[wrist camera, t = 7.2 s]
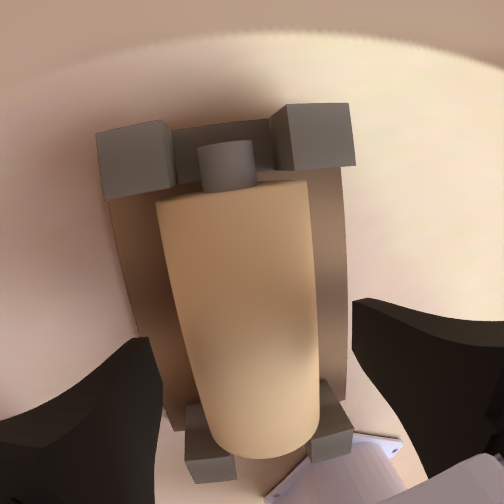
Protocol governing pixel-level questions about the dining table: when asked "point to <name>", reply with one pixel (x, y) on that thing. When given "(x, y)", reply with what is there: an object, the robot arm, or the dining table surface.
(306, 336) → the paper roll
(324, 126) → the roll holder
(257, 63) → the dining table surface
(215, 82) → the dining table surface
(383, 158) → the dining table surface
